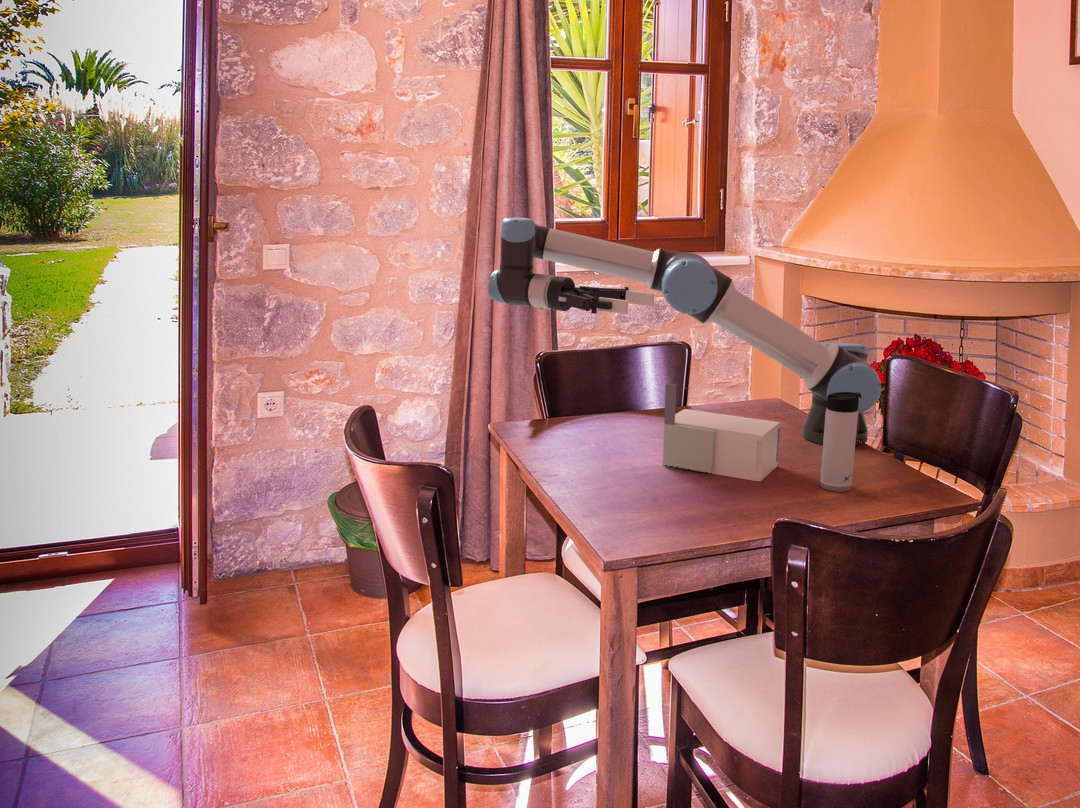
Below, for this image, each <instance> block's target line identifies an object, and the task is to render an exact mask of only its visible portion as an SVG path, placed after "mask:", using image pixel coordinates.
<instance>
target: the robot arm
mask: <svg viewBox="0 0 1080 808" xmlns="http://www.w3.org/2000/svg"><path fill="white" fill-rule="evenodd" d="M534 258H535V259H539V260H545V261H549V262H554V263H558V264H561V265H562V264H563V265H567V266H571V267H576V268H580V269H584V270H589V271H594V272H596V273H601V274H603V275H604V274H605V275H609V276H613V277H618V278H622V279H626V280H629V281H634V282H640V283H643V284H646V285H647V287H648V289H651V290H655V291H658V292H661V293H662V295H663V297H664V299H665V301H666V303H667V304H669V306H670V307H671V308H672V309H673V310H675V311H676V312H679V313H682V314H685V315H688V316H690V317H692V318H693V319H694V320H697V321H698V322H700V323H702V324H704V325H706V324H711V323H713V324H716V325H718V326H719V327H721V328H722V329H724V330H725V331H727V332H729V333H730V334H732V335H734V336H735V337H737V338H738V339H741V340H742V341H743V342H745V343H747V344H748V345H750V346H751V347H753V348H754V349H757V350H758V351H760V352H761V353H762V354H764V355H765V356H768V357H769V358H771V359H773V360H774V361H776V363H778V364H780V365H782V366H784V367H785V368H787V369H788V370H790V371H792V372H793V373H794V374H796V375H798V376H800V378H803V380H804V384H805V388H806V389H807V390H809V391H811V392H812V396H811V398H812V399H811V405H810V407H809V410H808V412H807V415H806V417H805V420H804V421H803V424H802V428H801V436H802V438H804V439H805V440H807V441H809V442H812V443H816V444H819V445H823V439H824V427H825V414H826V405H827V397H828V395H829V394H833V393H838V392H853V393H856V392H857V393H860V394H861V398H860V397H859V399H858V401H859V405H858V420H857V431H856V442H855V446H860V445H863V444H866V443H867V441H868V435H869V432H868V431H869V430H868V426H867V422H866V421H867V420H866V419H865V418H866V417H865V414H864V413H866V412H867V411H869V410H870V409H871V408H872V407H874V406H875V404H876V403H877V401H878V400H879V397H880V395H881V391H882V383H881V379H880V377H879V374H878V372H877V370H876V369H875V368H874V367H872V366H871V365H870V364H869V363H868V362H867V360H868V357H869V354H868V353H869V352H868V347H867V345H865V344H860V343H849V342H848V343H847V342H846V343H845V342H820V341H819V340H817V339H816V338H814V337H812V336H811V335H809V334H807V333H805V332H804V331H803V330H801V329H799V328H797V327H796V326H795V325H793V324H791V323H790V322H788V321H787V320H785V319H783V318H782V317H780V316H779V315H777V314H776V313H774V312H772V311H770V310H769V309H767V308H766V307H764V306H763V305H762V304H760V303H757V302H756V301H755V300H753V299H751V298H750V297H748V296H746V295H745V294H743V292H740V291H738V290H737V289H736V287H735V284H734V279H733V278H731V277H729V276H728V275H726V274H725V273H723V272H721V271H719V270H718V269H717V268H715V267H714V266H712V265H711V264H710V263H709V262H708V260H706V259H705V258H704V257H703V256H702V255H700V254H696V253H691V252H686V251H685V252H681V251H675V250H668V249H663V248H660V247H659V248H657V249H656V250H654V251H653V250H648V249H645V248H644V249H643V248H640V247H636V246H635V247H634V246H631V245H626V244H621V243H618V242H617V243H616V242H612V241H609V240H604V239H600V238H595V237H590V236H586V235H581V234H577V233H574V232H568V231H564V230H560V229H557V228H550V227H546V226H542V225H538V224H536V223H535V221H534V219H532V218H529V217H528V218H527V217H505V218H503V219H502V221H501V228H500V262H499V263H500V264H499V269H496V270H493V271H492V273H491V274H490V276H489V281H488V284H487V290H488V295H489V297H490V298H491V299H492V300H493V301H494V302H496V303H502V304H505V305H510V306H511V305H512V306H521V307H531V308H538V310H539V311H540V312H541V311H542V312H543V311H544V309H546V310H552V311H559V312H560V311H561V312H568V311H569V310H570V309H572V308H574V309H578V310H581V311H586V312H589V311H590V314H594V315H596V314H597V313H598V312H608V313H617V314H623V315H627V314H629V304H632V305H638V306H639V305H640V306H647V307H654V306H655V295H656V294H655V293H654V292H645V291H635V290H630V288H629V286H625V287H624V288H616V287H615V288H614V287H594V286H585V285H579V286H578V287H577V286H576V283H575V281H574V280H573V279H572V277H569V276H568V277H567V276H559V275H557V276H555V275H553V274H543V273H533V272H534ZM857 440H858V441H857ZM859 441H860V442H859ZM861 442H862V443H861Z"/></svg>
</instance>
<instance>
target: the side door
mask: <svg viewBox="0 0 1080 808" xmlns="http://www.w3.org/2000/svg"><path fill="white" fill-rule="evenodd" d="M664 394H665V398H664V420H663V449H662V451H663V452H662V454H663V455H662V460H663V465H662V466H665V465H668V466H667V467H670V466H674V467H673V468H676V467H680V468H679V469H682V468H686V469H685V470H688V469H691V470H690V471H694V470H697V471H696V472H700V471H703V472H702V473H706V472H709V473H708V474H711V473H712V472H713V462H714V442H715V430H711V429H705V428H698V427H691V426H685V425H678V424H675V414H676V404H677V403H676V402H677V384H675V383H666V384H665V393H664Z"/></svg>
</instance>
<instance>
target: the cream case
mask: <svg viewBox="0 0 1080 808" xmlns="http://www.w3.org/2000/svg"><path fill="white" fill-rule="evenodd" d="M675 424H678V425H685V426H691V427H698V428H705V429H711V430H715V442H714V462H713V472H712V475H717V476H725V477H729V478H730V477H731V478H735V479H741V480H748V481H752V482H753V481H755V482H758V481H759V482H762V481H763V480H764V479H765V478H766V477H767V476H768V475H770V473H771V472H773V471H774V470H775V469H776V468H777V467H778V457H779V443H780V427H781V421H773V420H766V419H759V418H754V417H753V418H751V417H745V416H738V415H731V414H723V413H716V412H710V411H701V410H696V409H688V408H684V409H682V410H680V411H679V412H677V413H675ZM661 465H662V466H664V465H663V459H662V461H661ZM666 467H669V466H668V465H667V466H666ZM672 468H675V467H674V466H673V467H672ZM677 469H681V468H680V467H678V468H677ZM682 470H687V469H686V468H683V469H682ZM772 470H773V471H772ZM689 471H692V470H691V469H690V470H689ZM693 471H695V472H698V471H697V470H693ZM699 472H700V473H701V472H702V473H704V472H703V471H699ZM707 473H708V474H710V473H709V472H707ZM707 473H706V474H707ZM759 482H758V483H759Z"/></svg>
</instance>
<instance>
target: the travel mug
mask: <svg viewBox="0 0 1080 808" xmlns="http://www.w3.org/2000/svg"><path fill="white" fill-rule="evenodd" d="M859 397H860V398H861V394H860V393H857V392H856V393H853V392H838V393H833V394H829V395H828V397H827V405H826V414H825V427H824V439H823V444H822V454H821V466H820V467H821V468H820V478H819V479H820V480H819V486H820V487H821V488H822V489H824V490H825V489H826V491H828V490H829V492H833V491H834V493H844V492H845V491H846V492H849V491H851V489H852V488H853V487H852V486H853V477H854V476H853V475H854V474H853V473H854V464H855V455H856V453H855V451H856V445H855V442H856V431H857V420H858V405H859V401H858V399H859Z"/></svg>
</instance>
